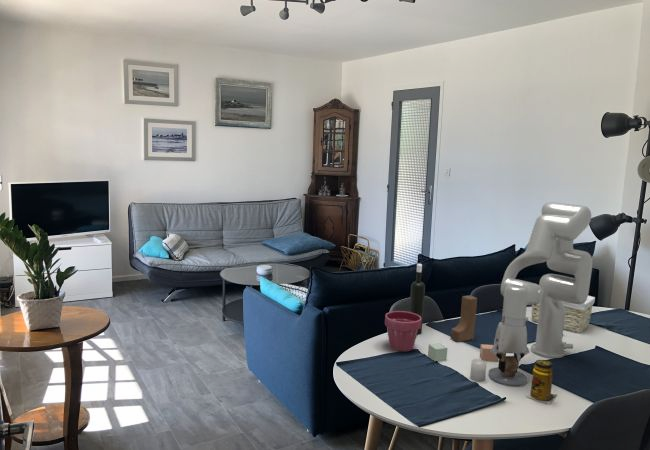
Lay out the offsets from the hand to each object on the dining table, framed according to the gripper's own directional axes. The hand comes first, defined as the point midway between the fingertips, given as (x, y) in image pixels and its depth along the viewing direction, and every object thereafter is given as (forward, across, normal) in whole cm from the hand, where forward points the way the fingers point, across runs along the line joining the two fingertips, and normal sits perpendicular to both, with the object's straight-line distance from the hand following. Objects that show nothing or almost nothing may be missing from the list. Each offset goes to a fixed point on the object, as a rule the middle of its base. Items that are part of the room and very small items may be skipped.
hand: (507, 370), depth 184 cm
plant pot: (+3, +31, -28) cm, 42 cm away
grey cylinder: (+3, +11, 0) cm, 11 cm away
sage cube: (+3, +20, -17) cm, 26 cm away
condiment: (+3, -6, +13) cm, 15 cm away
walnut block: (+1, 0, -1) cm, 1 cm away
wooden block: (+3, +3, -36) cm, 37 cm away
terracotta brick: (+3, 0, -16) cm, 17 cm away
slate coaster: (+3, 0, 0) cm, 3 cm away
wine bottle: (+3, +20, -44) cm, 49 cm away
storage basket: (+2, -51, -54) cm, 74 cm away
